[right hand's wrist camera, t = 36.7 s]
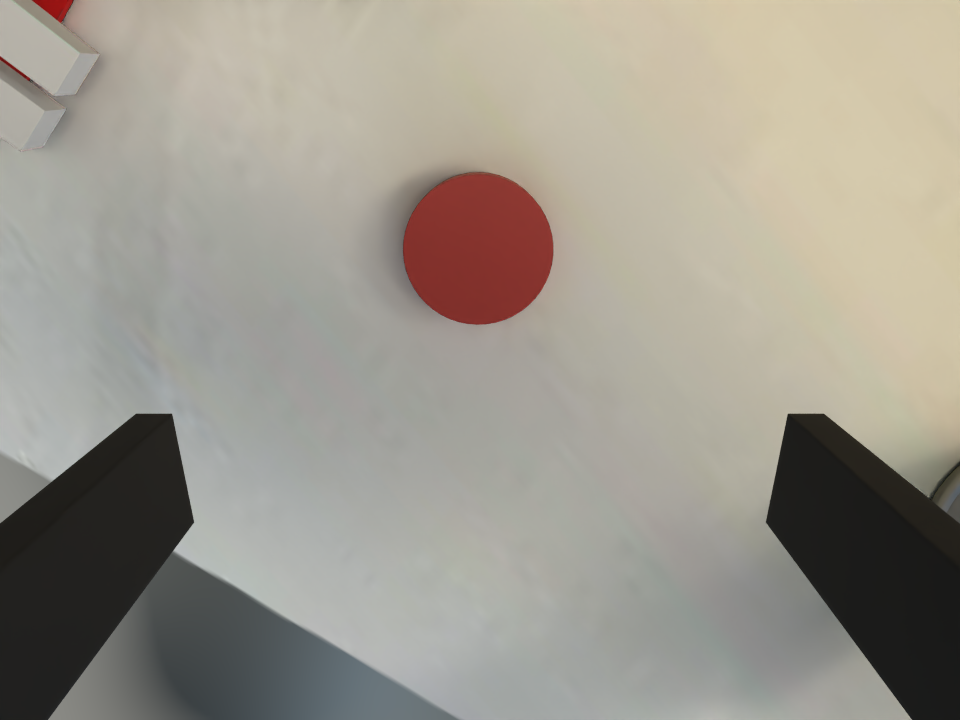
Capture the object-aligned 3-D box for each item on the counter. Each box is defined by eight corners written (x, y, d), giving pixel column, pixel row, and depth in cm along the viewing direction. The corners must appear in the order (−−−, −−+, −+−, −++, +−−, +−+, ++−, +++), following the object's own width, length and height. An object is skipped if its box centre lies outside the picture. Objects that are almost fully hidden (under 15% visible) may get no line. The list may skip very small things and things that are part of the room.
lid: (512, 334, 41) (514, 346, 38) (387, 281, 39) (381, 290, 37) (573, 208, 38) (579, 213, 35) (439, 147, 36) (436, 147, 34)
